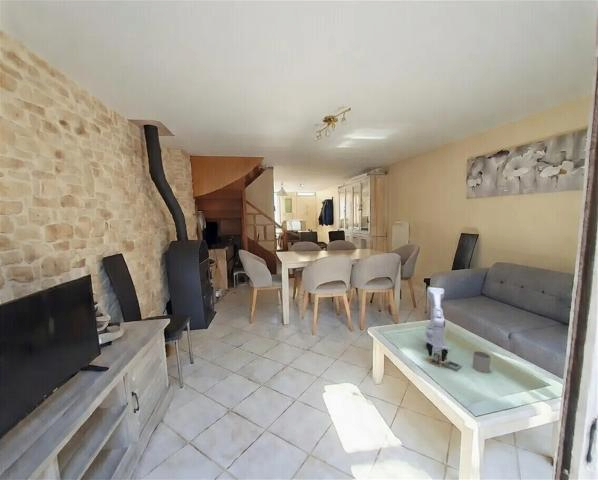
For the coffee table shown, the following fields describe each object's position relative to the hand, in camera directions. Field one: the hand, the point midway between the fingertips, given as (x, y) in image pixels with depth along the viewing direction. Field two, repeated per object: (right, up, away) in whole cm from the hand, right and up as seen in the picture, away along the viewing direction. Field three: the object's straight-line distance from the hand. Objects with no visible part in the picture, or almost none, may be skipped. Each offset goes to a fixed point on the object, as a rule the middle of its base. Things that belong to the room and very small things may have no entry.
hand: (436, 358), depth 162 cm
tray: (+1, -4, +1) cm, 4 cm away
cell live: (0, -3, 0) cm, 3 cm away
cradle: (+9, -4, -3) cm, 10 cm away
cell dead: (+8, -3, +7) cm, 11 cm away
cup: (+24, -5, -5) cm, 25 cm away
